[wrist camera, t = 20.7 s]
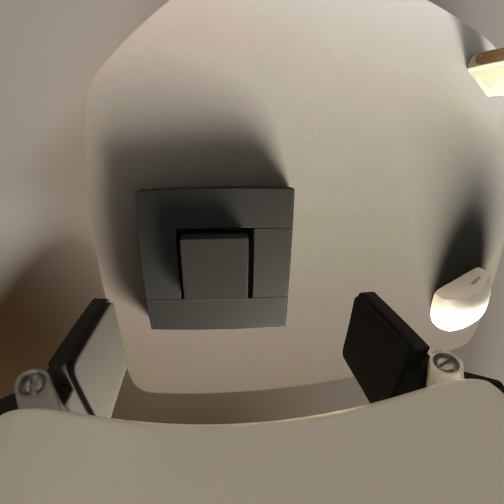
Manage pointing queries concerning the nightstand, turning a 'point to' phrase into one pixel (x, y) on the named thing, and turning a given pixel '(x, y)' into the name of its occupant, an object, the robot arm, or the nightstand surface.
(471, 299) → the computer mouse
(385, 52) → the nightstand surface
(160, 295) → the frame pad
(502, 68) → the cosmetic box
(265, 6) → the nightstand surface
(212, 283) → the dark grey square block
